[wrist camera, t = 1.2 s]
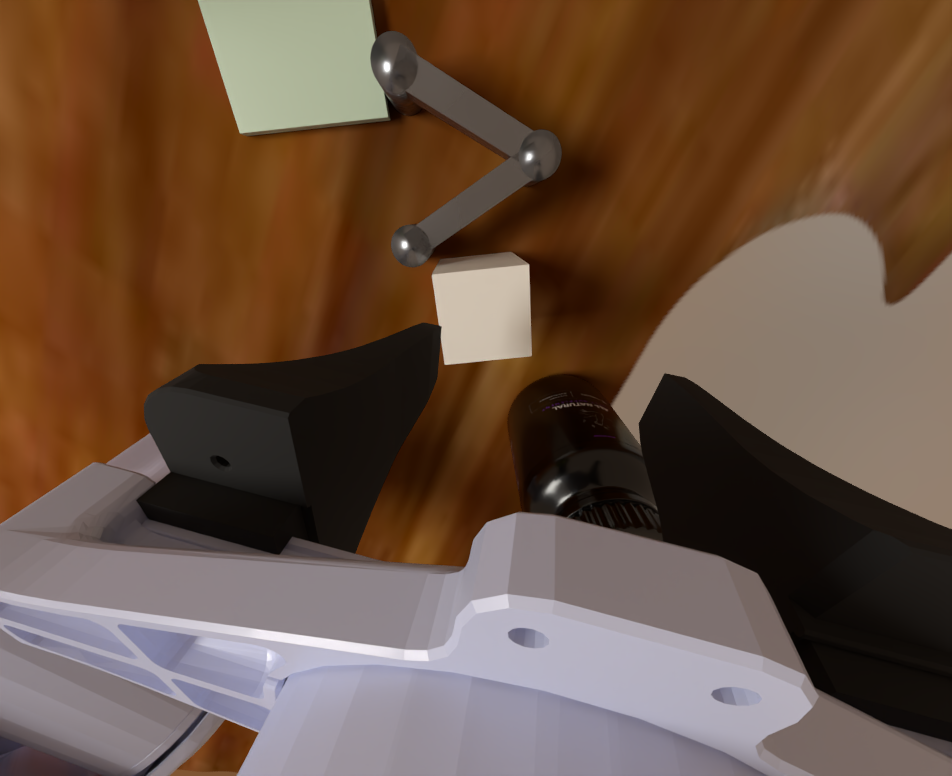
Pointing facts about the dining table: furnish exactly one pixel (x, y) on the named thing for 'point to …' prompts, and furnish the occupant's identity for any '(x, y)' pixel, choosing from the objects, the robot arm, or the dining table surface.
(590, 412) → the supplement bottle
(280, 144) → the dining table surface
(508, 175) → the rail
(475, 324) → the block
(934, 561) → the robot arm
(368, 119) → the pad
